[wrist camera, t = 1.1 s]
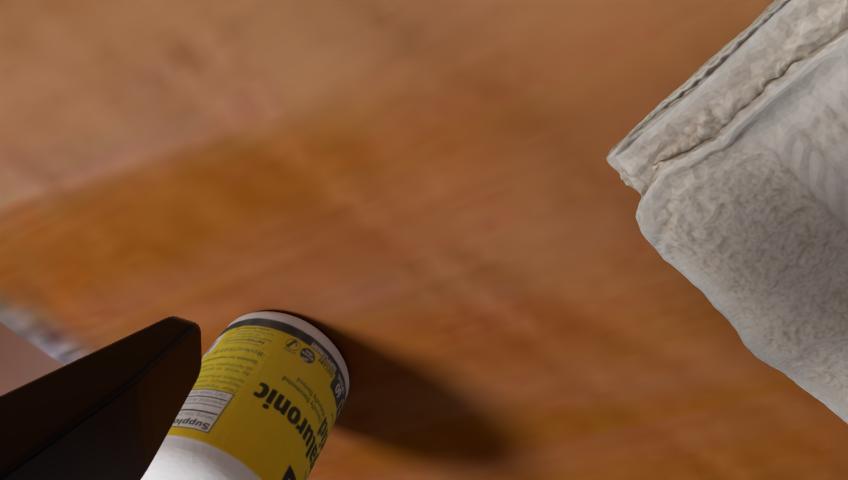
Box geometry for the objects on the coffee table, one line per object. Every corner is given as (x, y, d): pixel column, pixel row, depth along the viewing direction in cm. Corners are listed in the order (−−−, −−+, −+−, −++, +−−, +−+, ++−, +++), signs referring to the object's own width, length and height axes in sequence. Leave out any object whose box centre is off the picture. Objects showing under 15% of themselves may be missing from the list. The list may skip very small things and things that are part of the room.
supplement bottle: (373, 410, 28) (260, 659, 20) (258, 413, 30) (115, 641, 23) (324, 299, 26) (174, 534, 18) (202, 310, 28) (20, 526, 20)
